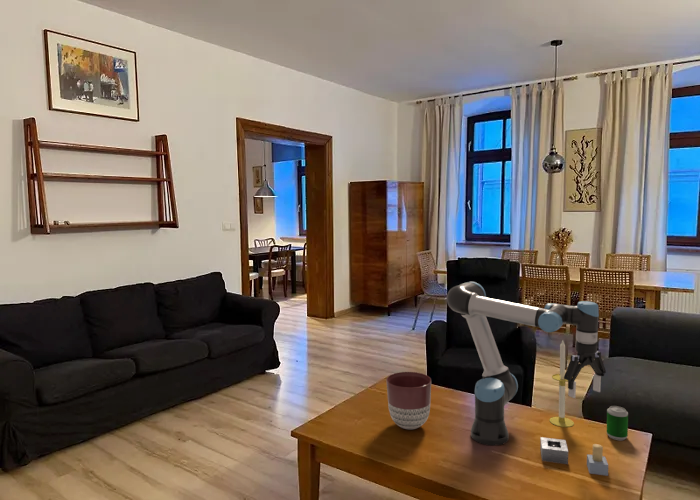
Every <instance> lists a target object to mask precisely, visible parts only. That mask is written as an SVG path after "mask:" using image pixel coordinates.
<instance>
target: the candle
mask: <svg viewBox="0 0 700 500" xmlns="http://www.w3.org/2000/svg"><path fill="white" fill-rule="evenodd" d="M565 373H566V344H565V342H564V339H562V341H561V343H560V344H559V373H555V374H552V375H551V378H552V379H553V380H555V381H558V416H553V417H551V418H549V422H550V424H551V425H554V426H557V427H559V426H560V428H571V427H573V426H574V425H575V422H574V421H573V420H572V419H571V418H568V417H566V383H568V380H566V379H564V376H565Z"/></svg>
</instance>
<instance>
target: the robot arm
mask: <svg viewBox="0 0 700 500" xmlns="http://www.w3.org/2000/svg"><path fill="white" fill-rule="evenodd" d="M446 303H447V306H448V307H449V308H450V309H451V310H452V311H453V312H456V313H459V314H460V315H461V316H462V317H463V318H464V319H465V320H466V323H467V325H468V328H469V330H470V331H469V332H470V333H471V337H472V340H473V342H474V345H475V348H476V351H477V353H478V357H479V359H480V362H481V365H482V368H483V373H482V375H481V376H482V378H481V379H479V380H477V381H476V382H475V384H474V385H475V386H474V413H475V414H474V420H473V422H472V425H471V429H470V437H471V439H473V440H474V441H475V442H477V443H479V444H482V445H486V446H501V445H504V444H506V443H508V442H509V437H510V436H509V435H510V434H509V430H508V428H507V425H506V422H505V406H506V405H507V404H508V403H509V401H511V400H512V399H513V398H514V397H515V396H516V394H517V392H518V388H519V384H518V380H517V378H516V376H515V375H514V374H513V373H511V372H510V369H509V367H508V366H506V365H504V363H503V361H502V357H501V354H500V351H499V349H498V346H497V343H496V341H495V337H494V335H493V333H492V329H491V326H490V324H489V321H488V319H487V317H489V318H493V319H498V320H502V321H508V322H511V323H516V324H522V325H524V326H525V325H526V326H532V327H535V328H540V329H541V330H542V331H544V332H546V333H553V332H557V331H558V330H560V329H561V327H562V326H563V325H571V326H576V331H575V332H576V333H575V340H576V341H575V350H576V352H577V354H576V355H574V354H571V355H570V361H569V364H568V366H567V369H565V376H564V379H566V380H568V382H567V389H568V393H567V395H568V397H570V398H573V399H576V396H577V395H576V393H577V392H576V390H577V381H575V380H577V377H578V375H579V374H580V373H581V370H583V368H584V367H586V366H590V368H591V369H592V371H593V372H594V374H593V381H592V382H593V383H592V384H593V385H592V390H593V391H594V392H597V393H601V387H602V386H601V384H602V377H604V376H605V374H606V373H607V371H606V367H605V365H604V362H603V358H602V352H601V351H598V335H599V334H598V332H599V317H600V314H599V312H600V311H599V304H598V303H596V302H594V301H583V300H581V301H578V302H577V305H569V304H562V303H561V304H560V303H555V302H554V303H549V302H548V303H546V304H545V305H544V308H542V307H537V306H533V305H532V306H531V305H528V304H522V303H516V302H513V301H512V302H511V301H506V300H502V299H496V298H490V297H487V294H486V291H485V289H484V287H483V286H482V285H481V284H480V283H477V282H476V281H467V282H464V283H460V284H459V285H455V286H453V287H451V288H450V289H449V290H448V292H447V295H446Z"/></svg>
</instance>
